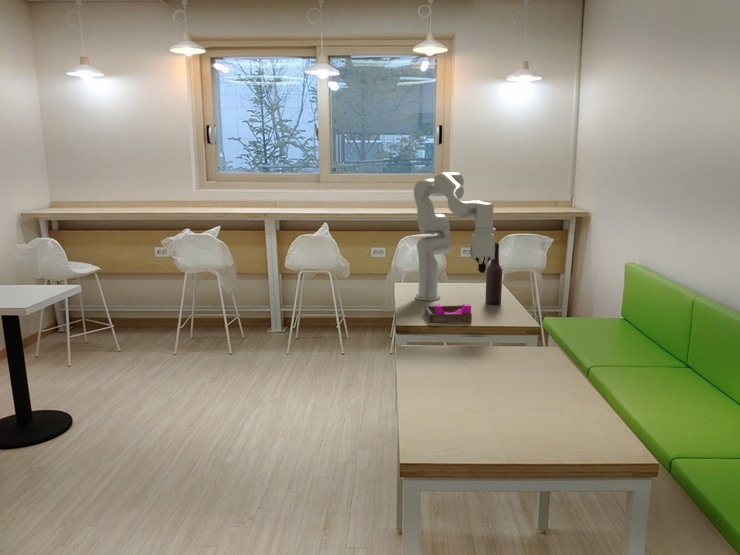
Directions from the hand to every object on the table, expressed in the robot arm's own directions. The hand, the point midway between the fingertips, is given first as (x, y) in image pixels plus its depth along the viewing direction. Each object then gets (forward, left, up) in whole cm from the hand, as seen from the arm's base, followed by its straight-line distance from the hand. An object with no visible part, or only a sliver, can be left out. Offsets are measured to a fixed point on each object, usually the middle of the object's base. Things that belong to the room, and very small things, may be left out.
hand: (481, 272), depth 259 cm
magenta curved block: (+3, -14, -21) cm, 25 cm away
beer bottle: (-24, +13, -21) cm, 35 cm away
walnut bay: (0, -15, -21) cm, 26 cm away
